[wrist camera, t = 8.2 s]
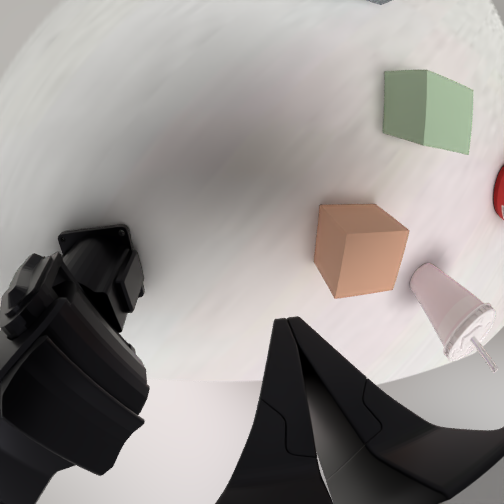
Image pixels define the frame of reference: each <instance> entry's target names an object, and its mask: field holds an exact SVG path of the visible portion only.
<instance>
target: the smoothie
mask: <svg viewBox="0 0 504 504" xmlns="http://www.w3.org/2000/svg"><path fill="white" fill-rule="evenodd" d="M410 288H411V290H412V291H413V293H414V294H415V296H416V298H417V299H418V301H419V303H420V304H421V306H422V308H423V310H424V311H425V313H426V315H427V317H428V318H429V320H430V322H431V324H432V325H433V327H434V329H435V331H436V333H437V335H438V337H439V339H440V340H441V342H442V344H443V346H444V349H443V352H444V354H445V355H446V356H447V358H448V359H449V361H456V360H459V359H461V358H463V357H464V356H466V355H467V354H468V353H470V352H471V351H472V350H473V349H474V348H475V347H476V349H477V350H478V352H479V353H480V354H481V356H482V357H483V358H484V360H485V361H486V363H487V364H488V366H489V367H490V368H491V370H492V371H493V373H495V372H496V371H497V370H498V367H497V366H496V365H495V363H494V362H493V360H492V359H491V358H490V356H489V355H488V354H487V352H486V351H485V349H484V348H483V347H482V345H481V344H480V342H481V341H482V340H483V339H484V338H485V336H486V335H487V333H488V332H489V330H490V329H491V327H492V325H493V323H494V321H495V317H496V311H495V310H494V309H493V308H492V307H491V304H489V303H483V302H482V301H481V300H479V299H478V298H477V297H476V296H475V295H473V294H472V293H471V292H469V291H468V290H467V289H465V288H464V287H463V286H461V285H460V284H459V283H458V282H456V281H455V280H453V279H452V278H451V277H449V276H448V275H447V274H445V273H444V272H443V271H441V270H440V269H438V268H437V267H436V266H434V265H433V264H431V263H427V264H424V265H422V266H421V267H419V268H418V269H417V270H416V272H415V273H414V274H413V276H412V278H411V281H410Z"/></svg>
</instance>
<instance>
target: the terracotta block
mask: <svg viewBox="0 0 504 504" xmlns="http://www.w3.org/2000/svg"><path fill="white" fill-rule="evenodd" d="M408 235H409V230H408V229H407V228H406V227H404V226H403V225H402V224H401V223H399V222H398V221H397V220H396V219H394V218H393V217H392V216H390V215H389V214H388V213H387V212H385V211H384V210H383V209H381V208H380V207H379V206H377V205H376V204H336V205H320V207H319V218H318V228H317V238H316V247H315V255H314V263H315V265H316V266H317V268H318V270H319V272H320V273H321V275H322V277H323V279H324V280H325V282H326V284H327V286H328V287H329V289H330V291H331V293H332V295H333V296H334V298H335V299H337V298H344V297H351V296H358V295H364V294H371V293H377V292H383V291H389V290H393V287H394V284H395V281H396V278H397V275H398V271H399V268H400V265H401V261H402V258H403V254H404V250H405V247H406V243H407V239H408Z"/></svg>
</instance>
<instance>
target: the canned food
mask: <svg viewBox="0 0 504 504" xmlns="http://www.w3.org/2000/svg"><path fill="white" fill-rule="evenodd" d="M494 207H495V210H496V212H497V214H498V215H499V216H500V217H501V218H502V219H503V220H504V166H503V167H502V169H501V170H500V172H499V174H498V177H497V180H496V183H495V188H494Z"/></svg>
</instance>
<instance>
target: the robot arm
mask: <svg viewBox="0 0 504 504" xmlns="http://www.w3.org/2000/svg"><path fill="white" fill-rule="evenodd" d="M120 230H123V231H124V232H125V233H124V234H122V233H121V232H120ZM63 237H64V238H65V240H64V239H63ZM58 241H59V244H60V247H61V250H62V253H63V255H62V256H61V254H60V253H59V252H57V253H55V254H53V255H52V256H48V257H46V258H45V257H42V256H40V255H37V254H35V253H34V254H32V255H31V256H29V257H28V258H27V260H26V261H25V262H24V263H23V264H22V265H21V266H20V268H19V269H18V270H17V272H16V273H15V275H14V277H13V280H12V282H11V283H10V286H9V289H8V290H7V291H6V292H5V293H4V295H3V296H2V300H1V307H0V328H1V330H0V504H36V502H37V501H38V499H39V498H40V496H41V494H42V493H43V491H44V490H45V488H46V486H47V485H48V483H49V482H50V480H51V478H52V477H53V476H54V475H55V473H56V472H57V471H60V470H63V469H66V468H69V467H72V466H75V465H77V466H79V467H81V468H83V469H86V470H88V471H90V472H92V473H94V474H96V475H99V476H101V475H103V474H104V473H106V472H107V471H108V470H109V469H110V468H112V467H113V465H114V463H115V461H116V459H117V456H118V455H119V452H120V450H121V448H122V446H123V445H124V443H125V442H126V440H127V439H128V438H129V437H130V436H131V434H132V433H133V432H134V431H136V430H137V429H138V428H139V427H141V426H142V425H143V424H144V419H142V418H141V417H140V416H138V415H139V413H140V412H141V410H142V408H143V406H144V404H145V402H146V400H147V397H148V393H149V385H147V378H146V369H145V367H144V365H143V363H142V361H141V359H140V358H139V357H138V356H137V355H136V353H135V349H134V348H133V346H132V345H131V344H128V343H127V342H126V341H125V340H124V339H123V337H122V336H121V335H120V334H119V333H120V332H122V330H123V326H124V323H125V320H126V316H127V313H132V312H133V311H134V309H135V305H136V302H137V299H138V298H139V297H142V296H143V295H144V292H145V290H144V286H143V280H144V276H143V272H142V269H141V265H140V261H139V257H138V253H137V252H136V251H135V250H134V249H133V245H132V241H131V236H130V232H129V229H128V227H127V226H126V225H122V224H121V225H113V226H105V227H97V228H89V229H81V230H74V231H67V232H62V233H61V234H60V235H59V236H58ZM316 452H317V453H316ZM317 455H318V458H319V461H320V464H321V467H322V470H323V473H324V476H325V478H326V482H327V485H328V488H329V491H330V494H331V497H332V499H331V497H330V495H329V493H328V490H327V488H326V486H325V484H324V481H323V479H322V476H321V473H320V470H319V465H318V460H317ZM332 500H333V502H332ZM333 503H334V504H504V427H503V428H501V429H497V430H491V431H490V430H489V431H486V430H467V429H455V428H445V427H440V426H436V425H433V424H431V423H429V422H427V421H425V420H424V419H422V418H421V417H419V416H418V415H416V414H415V413H413V412H412V411H410V410H409V409H407V408H406V407H404V406H403V405H401V404H400V403H398V402H397V401H395V400H394V399H393V398H391V397H390V396H389V395H387V394H386V393H385V392H384V391H382V390H381V389H380V388H379V387H377V386H376V385H375V384H374V383H373V382H372V381H371V380H369V379H367V377H366V376H365V375H364V374H362V373H361V372H360V371H359V370H358V369H357V368H356V367H355V366H353V365H352V364H351V363H350V362H349V361H348V360H347V359H346V358H344V357H343V356H342V355H341V354H340V353H339V352H338V351H337V350H336V349H334V348H333V347H332V346H331V345H330V344H329V343H328V342H327V341H326V340H324V339H323V338H322V337H321V336H320V335H319V334H318V333H317V332H316V331H314V330H313V329H312V328H311V327H310V326H309V325H308V324H307V323H306V322H305V321H303V320H302V319H301V318H300V317H298V316H296V317H289V318H287V319H286V318H280V319H275V320H274V323H273V328H272V334H271V339H270V345H269V350H268V356H267V361H266V366H265V371H264V376H263V381H262V387H261V392H260V397H259V401H258V405H257V410H256V414H255V418H254V422H253V425H252V429H251V431H250V434H249V437H248V439H247V442H246V444H245V447H244V449H243V451H242V454H241V456H240V459H239V461H238V463H237V466H236V468H235V470H234V472H233V474H232V477H231V479H230V481H229V483H228V484H227V486H226V488H225V490H224V492H223V493H222V494H221V496H220V497H219V499H218V500H217V502H216V503H215V504H333Z"/></svg>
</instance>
